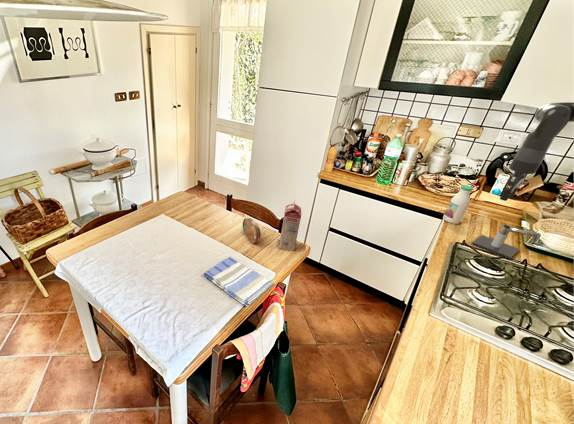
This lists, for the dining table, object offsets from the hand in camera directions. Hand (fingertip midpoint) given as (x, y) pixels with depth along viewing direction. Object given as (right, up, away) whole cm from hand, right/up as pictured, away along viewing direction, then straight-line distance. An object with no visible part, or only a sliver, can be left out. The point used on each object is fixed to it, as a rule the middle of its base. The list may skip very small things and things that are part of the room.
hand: (506, 197), depth 123 cm
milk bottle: (+11, -11, +41) cm, 44 cm away
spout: (+18, -17, +13) cm, 28 cm away
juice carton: (-84, -22, +18) cm, 89 cm away
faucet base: (+13, -23, +19) cm, 32 cm away
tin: (-100, -18, +24) cm, 104 cm away
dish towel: (-109, -34, -4) cm, 115 cm away
